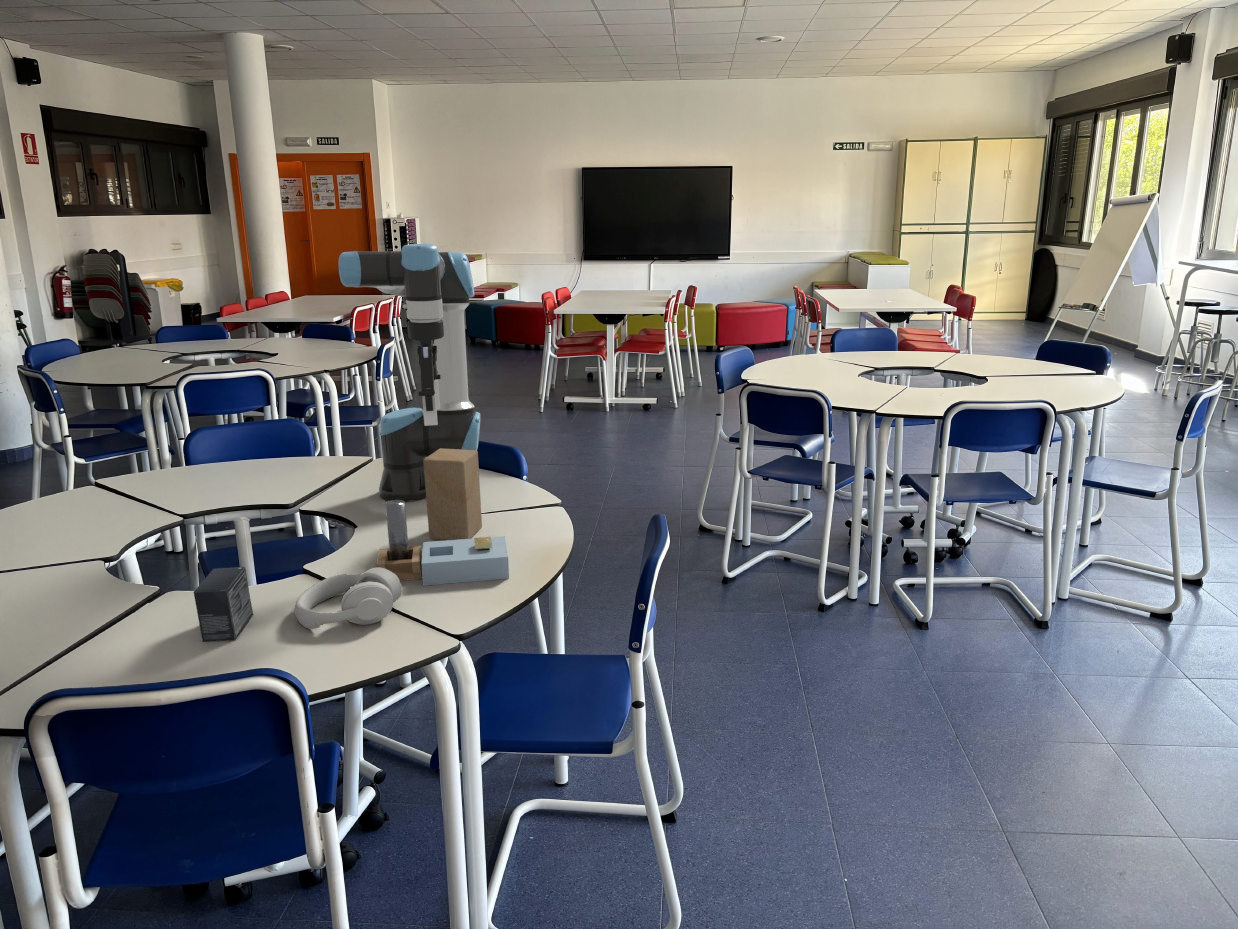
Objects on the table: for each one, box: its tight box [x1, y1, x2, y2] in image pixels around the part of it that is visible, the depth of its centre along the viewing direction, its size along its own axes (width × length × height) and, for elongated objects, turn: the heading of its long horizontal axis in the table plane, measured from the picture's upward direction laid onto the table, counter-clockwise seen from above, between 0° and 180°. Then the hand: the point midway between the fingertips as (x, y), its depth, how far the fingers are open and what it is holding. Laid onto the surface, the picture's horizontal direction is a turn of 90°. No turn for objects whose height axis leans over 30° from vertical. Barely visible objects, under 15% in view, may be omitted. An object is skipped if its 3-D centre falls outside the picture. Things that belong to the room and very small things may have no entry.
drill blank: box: [385, 500, 409, 561], centre depth 187 cm, size 4×4×16 cm
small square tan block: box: [474, 536, 492, 551], centre depth 189 cm, size 4×4×6 cm
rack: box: [375, 545, 423, 582], centre depth 188 cm, size 9×9×4 cm
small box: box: [193, 566, 254, 643], centre depth 163 cm, size 11×6×10 cm, turn 5°
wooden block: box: [423, 448, 483, 541], centre depth 208 cm, size 10×10×20 cm
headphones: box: [294, 567, 403, 630], centre depth 170 cm, size 18×8×20 cm
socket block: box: [421, 535, 510, 586], centre depth 189 cm, size 12×18×5 cm, turn 101°
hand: (432, 416), depth 190 cm, fingers open, 13 cm apart
